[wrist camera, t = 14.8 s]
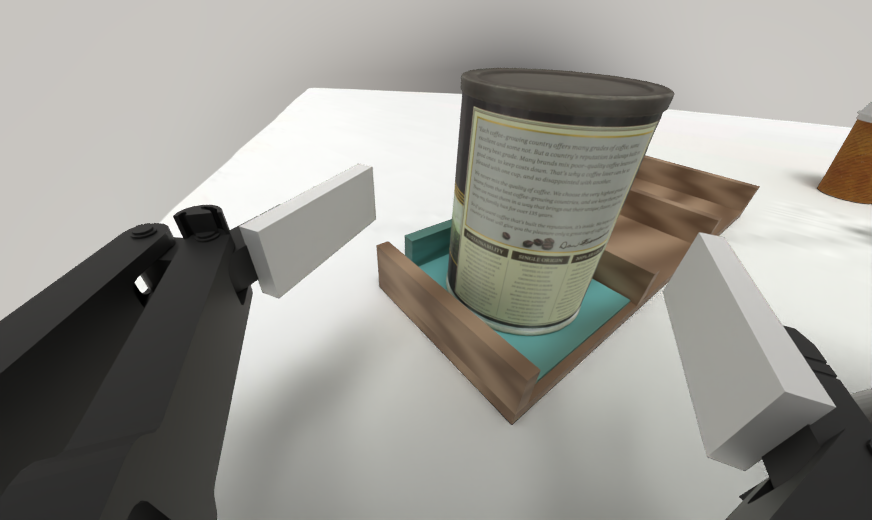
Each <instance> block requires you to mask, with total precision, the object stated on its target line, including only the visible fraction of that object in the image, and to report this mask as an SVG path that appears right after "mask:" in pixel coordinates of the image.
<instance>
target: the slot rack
mask: <svg viewBox="0 0 872 520" xmlns="http://www.w3.org/2000/svg"><path fill="white" fill-rule="evenodd" d="M759 187H760V186H756V185H752V184H748V183H745V182H741V181H737V180H734V179H730V178H726V177H723V176H719V175H715V174H712V173H708V172H704V171H701V170H697V169H693V168H690V167H686V166H682V165H679V164H675V163H671V162H667V161H664V160H660V159H656V158H653V157H649V156H644V158H643V160H642V163H641V165H640V168H639V171H638V173H637V175H636V177H635V179H634V182H633V184H632V187H631V189H630V191H629V194H628V196H627V198H626V201H625V203H624V206H623V208H622V210H621V212H620V214H619V217H618V219H617V221H616V223H615V225H614V228H613V231H612V233H611V235H610V238H609V240H608V243H607V245H606V248H605V250H604V252H603V254H602V257H601V259H600V261H599V264H598V266H597V269H596V271H595V273H594V275H593V278H592V280H591V282H590V285H589V287H588V289H587V292H586V294H585V296H584V299H583V301H582V304H581V308H580V311H579V313H578V315H577V317H576V318H575V319H574V320H573V321H572V322H571V323H570V324H569V325H567V326H565V327H564V328H562V329H561V330H558V331H555V332H551V333H548V334H542V335H528V336H525V335H516V334H511V333H504V332H500V331H497V330H495V329H492V328H490V327H489V326H488V325H487V324H486V323H484V322H483V321H482V320H481V319H480V318H478V317H477V316H476V315H475V314H474V313H473V312H471V311H470V310H469V309H468V308H467V307H465V306H464V305H463V304H462V303H461V302H460V301H458V300H457V299H456V298H455V297H454V296H452V295H451V294H450V293H449V292H448V289H447V285H446V276H447V272H448V262H449V248H450V237H451V225H452V219H451V220H448V221H445V222H442V223H439V224H436V225H434V226H431V227H428V228H425V229H422V230H419V231H416V232H414V233H411V234H408V235H405V255H404V254H403V253H401V252H400V251H399V250H398V249H397V248H396V247H394V246H393V245H392V244H391V243H390V242H385V243H382V244H379V245H377V258H378V272H379V286H380V288H381V289H382V290H383V291H384V292H385V293H386V294H387V295H388V296H389V297H390V298H391V299H392V300H393V301H394V302H395V303H396V304H397V305H398V306H399V308H400V309H401V310H402V311H403V312H404V313H405V314H406V315H407V316H408V317H409V318H410V319H411V320H412V321H413V322H414V323H415V324H416V325H417V326H418V327H419V328H420V329H421V331H422V332H423V333H424V334H425V335H426V336H427V337H428V338H429V339H430V340H431V341H432V342H433V343H434V344H435V345H436V346H437V347H438V348H439V349H440V350H441V351H442V352H443V353H444V355H445V356H446V357H447V358H448V359H449V360H450V361H451V362H452V363H453V364H454V365H455V366H456V367H457V368H458V369H459V370H460V371H461V372H462V373H463V374H464V375H465V376H466V377H467V379H468V380H469V381H470V382H471V383H472V384H473V385H474V386H475V387H476V388H477V389H478V390H479V391H480V392H481V393H482V394H483V395H484V396H485V397H486V398H487V399H488V400H489V401H490V403H491V404H492V405H493V406H494V407H495V408H496V409H497V410H498V411H499V412H500V413H501V414H502V415H503V416H504V417H505V418H506V419H507V420H508V421H509V422H510V423H511V424H513V423H514V422H515V421H517V420H518V419H519V418H520V417H521V416H522V415H523V414H524V413H525V412H526V411H527V410H529V409H530V408H531V407H532V406H533V405H534V404H535V403H536V402H537V401H538V400H539V399H541V398H542V397H543V396H544V395H545V394H546V393H547V392H548V391H549V390H550V389H552V388H553V387H554V386H555V385H556V384H557V383H558V382H559V381H560V380H561V379H562V378H564V377H565V376H566V375H567V374H568V373H569V372H570V371H571V370H572V369H573V368H575V367H576V366H577V365H578V364H579V363H580V362H581V361H582V360H583V359H584V358H585V357H587V356H588V355H589V354H590V353H591V352H592V351H593V350H594V349H595V348H596V347H597V346H599V345H600V344H601V343H602V342H603V341H604V340H605V339H606V338H607V337H608V336H610V335H611V334H612V333H613V332H614V331H615V330H616V329H617V328H618V327H619V326H620V325H622V324H623V323H624V322H625V321H626V320H627V319H628V318H629V317H630V316H631V315H633V314H634V313H635V312H636V311H637V310H638V309H639V308H640V307H641V306H642V305H643V304H645V303H646V302H647V301H648V300H649V299H650V298H651V297H652V296H653V295H654V294H655V293H657V292H658V291H659V290H660V289H661V288H662V287H663V286H664V285H665V284H666V283H668V282H669V281H670V279H671V277H672V276H673V274H674V272H675V271H676V269H677V267H678V266H679V264H680V262H681V261H682V259H683V258H684V256H685V254H686V253H687V251H688V249H689V248H690V246H691V244H692V243H693V241H694V240H695V238H696V236H697V235H698V233H699V232H700V233H705V234H710V235H715V236H719V235H720V234H721V233H722V232H723V231H724V230H726V229H727V228H728V227H729V226H730V225H731V224H732V223H733V222H734V221H735V220H736V219H738V218H739V217H740V215H741V214H742V212H743V211H744V209H745V208H746V206H747V205H748V203H749V202H750V200H751V199H752V197H753V196H754V194H755V193H756V191H757V190H758V188H759Z"/></svg>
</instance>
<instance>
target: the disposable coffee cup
mask: <svg viewBox="0 0 872 520" xmlns="http://www.w3.org/2000/svg"><path fill="white" fill-rule="evenodd" d="M857 113H858V114H859V115H858V116H857V121H856V123H855V124H854V126H853V128H852V129H851V131H850V133H849V135H848V136H847V138H846V140H845V141H844V143H843V145H842V147H841V148H840V150H839V152H838V153H837V155H836V157H835V159H834V160H833V162H832V164H831V165H830V167H829V169H828V171H827V172H826V174H825V176H824V177H823V179H822V181H821V182H820V184H819V186H818V187H817V188H818V190H820V191H821V192H823V193H825V194H828V195H830V196H833V197H836V198H839V199H843V200H847V201H852V202H857V203H865V204H872V102H870V103H869V104H868V105H867V106H866V107H865V108H864V109H863V110H862V111H858V112H857Z"/></svg>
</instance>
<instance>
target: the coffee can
mask: <svg viewBox="0 0 872 520" xmlns="http://www.w3.org/2000/svg"><path fill="white" fill-rule="evenodd" d="M461 90H462V105H461V116H460V129H459V140H458V153H457V165H456V177H455V190H454V202H453V213H452V225H451V237H450V248H449V262H448V272H447V276H446V285H447V289H448V292H449V293H450V294H451V295H452V296H454V297H455V298H456V299H457V300H458V301H460V302H461V303H462V304H463V305H464V306H465V307H467V308H468V309H469V310H470V311H471V312H473V313H474V314H475V315H476V316H477V317H478V318H480V319H481V320H482V321H483V322H484V323H486V324H487V325H488V326H489V327H490V328H492V329H495V330H497V331H500V332H504V333H511V334H516V335H525V336H528V335H542V334H548V333H551V332H555V331H558V330H561V329H562V328H564V327H565V326H567V325H569V324H570V323H571V322H572V321H573V320H574V319H575V318H576V317H577V315H578V313H579V311H580V308H581V304H582V301H583V299H584V296H585V294H586V292H587V289H588V287H589V285H590V282H591V280H592V278H593V275H594V273H595V271H596V269H597V266H598V264H599V261H600V259H601V257H602V254H603V252H604V250H605V248H606V245H607V243H608V240H609V238H610V235H611V233H612V231H613V228H614V225H615V223H616V221H617V219H618V217H619V214H620V212H621V210H622V208H623V206H624V203H625V201H626V198H627V196H628V194H629V191H630V189H631V187H632V184H633V182H634V179H635V177H636V175H637V173H638V171H639V168H640V165H641V163H642V160H643V158H644V156H645V154H646V151H647V148H648V146H649V143H650V141H651V139H652V136H653V134H654V132H655V130H656V127H657V125H658V123H659V121H660V119H661V116H662V113H663V112H664V111H665V110H667V109H668V107H669V105H670V103H671V101H672V99H673V96H674V92H673V91H672V90H670V89H669V88H667V87H665V86H662V85H659V84H655V83H651V82H647V81H640V80H636V79H630V78H623V77H617V76H610V75H600V74H592V73H582V72H573V71H558V70H545V69H522V68H491V69H490V68H489V69H477V70H470V71H468V72H465V73H463V74H462V76H461Z"/></svg>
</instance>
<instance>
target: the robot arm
mask: <svg viewBox="0 0 872 520" xmlns="http://www.w3.org/2000/svg"><path fill="white" fill-rule="evenodd" d="M173 217H174V219H175V222H176V224H177V226H178V228H179V230H180V232H181V234H182V236H183V238H176V237H173V235H172V233H171V231H170V229H169V227H168V226H167V225H165V224H159V223H154V224H150V223H147V224H144V225H143V224H141V225H138V226H136V227H134V228H131V229H129V230H127V231H125V232H124V233H122V234H121V235H119V236H118V237H116V238H115V239H114V240H112V241H111V242H110V243H108V244H107V245H105V246H104V247H103V248H101V249H100V250H98V251H97V252H96V253H94V254H93V255H92V256H90V257H89V258H87V259H86V260H84V261H83V262H82V263H80V264H79V265H78V266H76V267H75V268H73V269H72V270H70V271H69V272H68V273H66V274H65V275H64V276H62V277H61V278H59V279H58V280H57V281H55V282H54V283H52V284H51V285H50V286H48V287H47V288H46V289H44V290H43V291H41V292H40V293H39V294H37V295H36V296H34V297H33V298H32V299H30V300H29V301H27V302H26V303H25V304H23V305H22V306H20V307H19V308H18V309H16V310H15V311H14V312H12V313H11V314H9V315H8V316H7V317H5V318H4V319H2V320H1V321H0V520H217V509H216V504H215V498H214V486H215V480H216V475H217V470H218V465H219V460H220V455H221V450H222V445H223V440H224V435H225V430H226V425H227V420H228V415H229V410H230V405H231V400H232V395H233V390H234V385H235V380H236V375H237V370H238V365H239V360H240V355H241V350H242V345H243V340H244V335H245V330H246V325H247V319H248V314H249V309H250V304H251V299H252V294H253V292H252V288H251V284H252V283H254V282H255V281H257V280H258V281H259V284H260V287H261V290H262V292H263V293H265V294H268V295H271V296H273V297H276V298H280V297H282V296H283V295H284V294H285V293H287V292H288V291H289V290H290V289H291V288H293V287H294V286H295V285H296V284H298V283H299V282H300V281H301V280H302V279H304V278H305V277H306V276H307V275H309V274H310V273H311V272H312V271H313V270H315V269H316V268H317V267H318V266H320V265H321V264H322V263H323V262H324V261H326V260H327V259H328V258H329V257H330V256H332V255H333V254H334V253H335V252H337V251H338V250H339V249H340V248H341V247H343V246H344V245H345V244H346V243H348V242H349V241H350V240H351V239H352V238H354V237H355V236H356V235H357V234H359V233H360V232H361V231H362V230H363V229H365V228H366V227H367V226H368V225H370V224H371V223H372V222H373V221H374V220H376V211H375V196H374V182H373V167H372V166H367V165H362V164H357V165H355V166H353V167H351V168H349V169H347V170H345V171H344V172H342V173H340V174H338V175H336V176H334V177H332V178H330V179H328V180H326V181H324V182H323V183H321V184H319V185H317V186H315V187H313V188H311V189H309V190H307V191H305V192H303V193H302V194H300V195H298V196H296V197H294V198H292V199H290V200H288V201H286V202H284V203H282V204H280V205H277V206H276V207H274V208H272V209H270V210H268V211H266V212H264V213H262V214H260V216H256V217H254V218H253V219H251V220H249V221H247V222H245V223H243V224H241V225H239V226H237V227H235V228H233V229H231V230H229V227H228V224H227V222H226V219H225V216H224V214H223V211H222V209H221V208H220V207H218V206H215V205H199V206H193V207H190V208H186V209H184V210H182V211H179V212H177V213H176V214H175V215H174V216H173ZM140 275H141V277H142V279H143V280H144V282H145V283H146V285H147V287H148V289H147V290H146V291H145V292H144V293H141V292H140V291H139V289H138V288H137V286H136V285H135V283H134V282H135V281H136V279H137V278H138V277H139V276H140ZM663 295H664V299H665V302H666V306H667V310H668V314H669V317H670V321H671V325H672V329H673V332H674V336H675V340H676V343H677V347H678V351H679V355H680V358H681V362H682V366H683V370H684V373H685V377H686V381H687V384H688V388H689V392H690V396H691V399H692V403H693V407H694V411H695V414H696V418H697V422H698V425H699V429H700V433H701V437H702V440H703V444H704V448H705V451H706V455H707V457H708V458H711V459H714V460H716V461H719V462H722V463H724V464H727V465H730V466H733V467H735V468H738V469H741V470H743V471H746V470H747V469H749V468H750V467H752V466H753V465H754V464H756V463H757V462H759V461H760V460H763V462H764V465H765V467H766V470H767V472H768V475H769V478H767V479H766V480H764V481H763V482H761V483H759V484H758V485H756V486H755V487H753V488H752V489H750V490H748V491H747V492H745V493H744V494H742V495H741V496H739V497H740V498H741V499H742V500H743V501H742V503H741V504H740V505H739V506H738V507H737V508H736V509H735V510H734V511H733V512H732V513H731V514H730V515H729V516H728V517H727V518H726V520H872V389H868V390H864V391H859V392H856V393H853V394H851V395H850V393H849V392H848V391H847V389H846V388H845V386H844V385H843V384H842V382H841V381H840V380H839V379H836V377H837V375H836V374H835V373H834V371H833V370H832V368H831V367H830V366H829V365H826V363H827V361H826V360H825V359H824V357H823V356H822V354H821V353H820V352H819V350H818V349H817V348H816V346H815V345H814V344H813V343H812V342H810V341H809V340H808V339H807V338H806V337H804V336H803V335H802V334H801V333H800V332H798V331H797V330H796V329H794V328H790V327H787V326H783V325H782V324H781V322H780V321H779V319H778V318H777V316H776V315H775V313H774V312H773V310H772V308H771V307H770V305H769V304H768V302H767V301H766V299H765V298H764V296H763V295H762V293H761V292H760V290H759V289H758V287H757V286H756V284H755V283H754V281H753V280H752V278H751V277H750V275H749V273H748V272H747V270H746V269H745V267H744V266H743V264H742V263H741V261H740V260H739V258H738V257H737V255H736V254H735V252H734V251H733V249H732V248H731V246H730V245H729V243H728V242H727V240H726V238H725V237H720V236H715V235H710V234H705V233H700V232H699V233H698V235H697V236H696V238H695V240H694V241H693V243H692V244H691V246H690V248H689V249H688V251H687V253H686V254H685V256H684V258H683V259H682V261H681V262H680V264H679V266H678V267H677V269H676V271H675V272H674V274H673V276H672V277H671V279H670V281H669V282H668V284H667V285H666V287H665V289H664V290H663Z"/></svg>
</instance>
